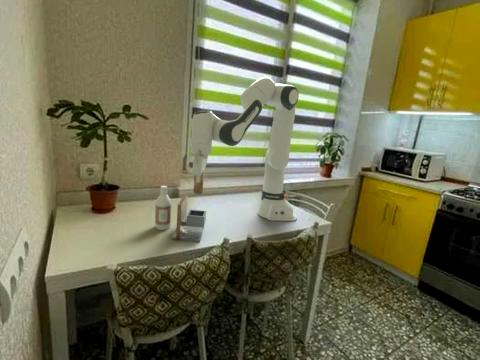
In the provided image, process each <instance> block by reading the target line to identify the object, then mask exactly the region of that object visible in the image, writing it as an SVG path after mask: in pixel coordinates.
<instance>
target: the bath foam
mask: <svg viewBox="0 0 480 360" xmlns="http://www.w3.org/2000/svg"><path fill="white" fill-rule="evenodd" d="M154 210H155V214H154V215H155V220H154V222H155V223H154V226H155V229H156V230H158V231H166V230H169V229H170V228H171V220H172V219H171V217H172V200H171V198H170V196H169V195H168V186H167V185H160V194H159V195H158V197H157V198H156V200H155V209H154Z"/></svg>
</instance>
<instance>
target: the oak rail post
mask: <svg viewBox="0 0 480 360" xmlns="http://www.w3.org/2000/svg"><path fill="white" fill-rule="evenodd" d="M193 176H194V177H193V181H194V182H193V193H192V194H195V195H203V191H204V190H203V189H204V179H205V178H204V177H205V169H204V170H203V172H202V174H201V180H200V183H197V182H196V175H193Z"/></svg>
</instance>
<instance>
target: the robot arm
mask: <svg viewBox="0 0 480 360" xmlns="http://www.w3.org/2000/svg"><path fill="white" fill-rule="evenodd" d="M298 100H299V91H298V88H297V87H296V86H294V85H291V84H283V83H275V81H273V79H272V78H270V77H268V76H264V77H260V78H259V79H257V80H256V81H254V82H253V83H252V84H250V85H249V86H248V87H247V88H246V89H245V90H244V91H243V92H242V94H241V95H240V104H241V106H242V108H243V109H244V110H243V111H242V113H241V114H239V116H238V117H237V118H236V119H233V120H224V119H221V118H219V117H218V116H216V114H214V113H213V111H212V110H207V109H204V110H203V109H202V110H197V111H196V112H194V113H193V116H192V120H191V129H190V130H191V131H190V132H191V139H190V149H189V150H190V151H189V152H190V154H192V157H193V159H192V167H191V168H192V171H191V172H192V173H191V174H192V176H194V175H196V182H197V183H200V180H201V174H202V172H203V170H204V171H205V169H206V166H207V161H208V157H209V155H211V154H212V146H213V145H212V144H213V142H212V141H214V142H217V143H221V144H224V145H226V146H229V147H234V146H237V145H238V144H239V143H241V141H242V140H243V138H244V137H245V134H246V132H247V130H248V129H250V127H251V126H252V124H254V122H255V121H256V119H258V117H259V116H260V114H261V112H262V111H263V107H264V106H270V107H274V108H275V112H274V115H273V119H272V120H273V121H272V124H271V130H270V131H271V132H270V139H269V140H270V141H269V148H268V149H267V150H266V152H265V160H264V177H263V184H262V190H261V192H260V193H261V194H260V204H259V208H258V210H257V213H256V214H257V215H258V216H259V217H262V218H264V219H267V220H269V221H283V222H284V221H288V222H289V221H293V222H294V221H296V220H297V218H298V217H297V214H296V213H295V212H294V208H293V207H294V206H293V205H292V204H291V203H290V202H289V201H288V200H287V198H288V195H287V194H286V193H285V192H284V191H283V188H284V182H285V168H287V166H288V165H289V163H290V162H289V161H290V159H289V158H290V153H291V152H290V151H291V141H292V134H293V129H294V124H295V119H296V118H295V117H296V105H297V103H298Z"/></svg>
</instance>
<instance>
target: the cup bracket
mask: <svg viewBox="0 0 480 360" xmlns="http://www.w3.org/2000/svg"><path fill="white" fill-rule="evenodd" d="M188 196H189V194H187V193H184V194H183V196H182V197H181V199H180V201H179V202H178V203H177V213H176V214H177V215H176V229H175V231H174V233H173V235H172V237H171V240H172V241H181V242H192V243H193V242H194V243H201V241H202V236H203V232H204V230H205V224H206V219H207V210H198V209H197V210H196V209H189V211H188Z"/></svg>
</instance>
